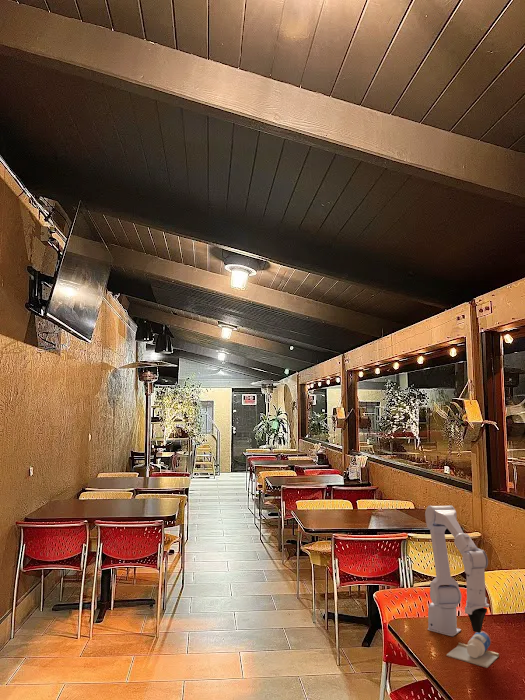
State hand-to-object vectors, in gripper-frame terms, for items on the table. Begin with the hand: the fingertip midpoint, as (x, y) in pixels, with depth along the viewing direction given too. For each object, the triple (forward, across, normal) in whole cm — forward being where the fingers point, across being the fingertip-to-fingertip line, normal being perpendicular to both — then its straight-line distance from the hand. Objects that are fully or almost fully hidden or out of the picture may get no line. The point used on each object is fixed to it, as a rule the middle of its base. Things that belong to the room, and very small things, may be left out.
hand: (477, 631), depth 184 cm
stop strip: (+7, +3, +1) cm, 8 cm away
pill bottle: (+3, +5, 0) cm, 6 cm away
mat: (+7, -2, +1) cm, 8 cm away
